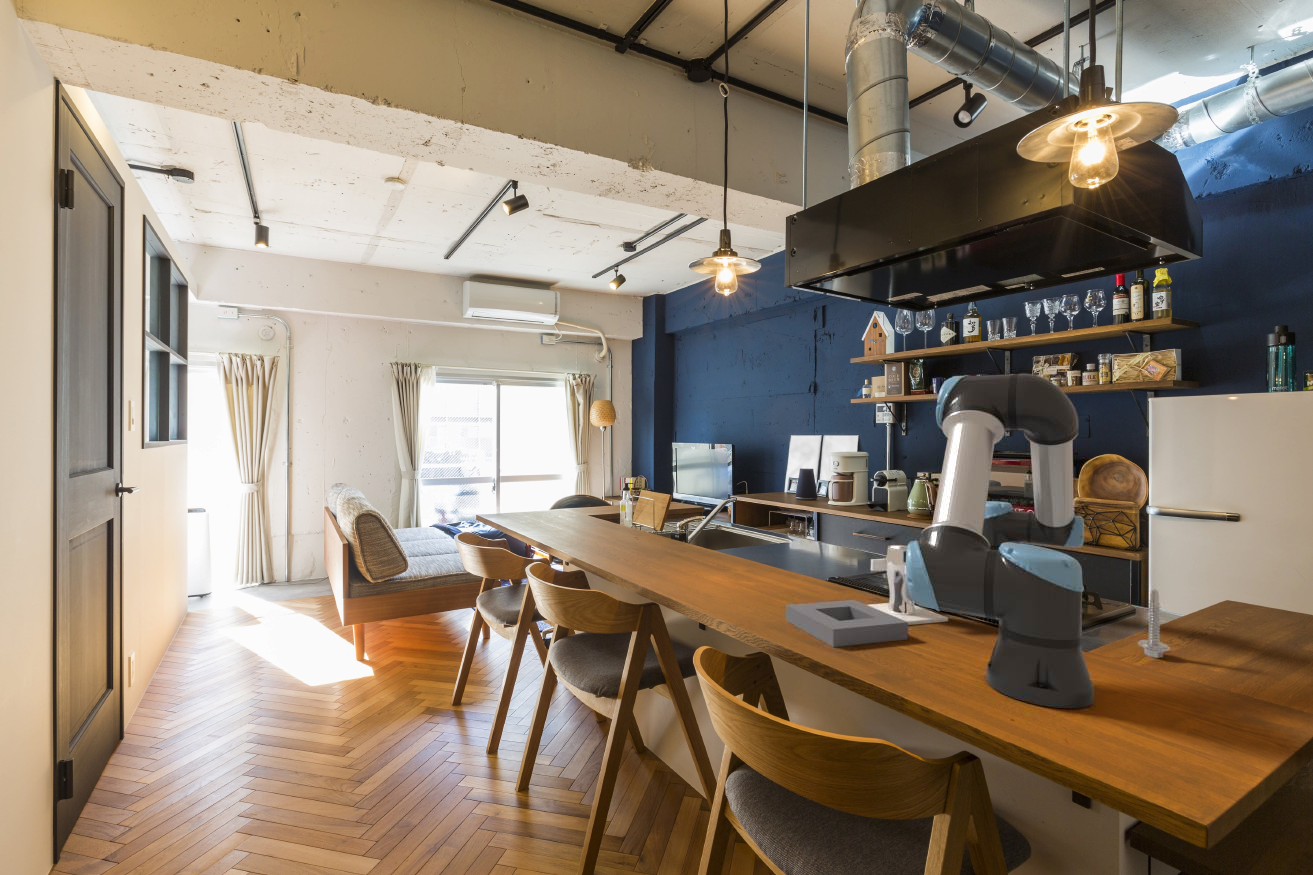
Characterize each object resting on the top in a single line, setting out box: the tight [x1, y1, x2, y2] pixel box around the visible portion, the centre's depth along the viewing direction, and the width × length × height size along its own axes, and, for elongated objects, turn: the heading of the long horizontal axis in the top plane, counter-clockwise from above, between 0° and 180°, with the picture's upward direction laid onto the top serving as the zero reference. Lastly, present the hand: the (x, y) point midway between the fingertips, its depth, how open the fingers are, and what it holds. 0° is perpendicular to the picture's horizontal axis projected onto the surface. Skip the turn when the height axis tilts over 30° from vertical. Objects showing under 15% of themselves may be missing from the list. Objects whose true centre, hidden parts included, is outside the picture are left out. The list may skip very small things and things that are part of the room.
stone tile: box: [867, 602, 949, 626], centre depth 144 cm, size 14×14×1 cm
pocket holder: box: [785, 599, 909, 648], centre depth 132 cm, size 18×18×4 cm
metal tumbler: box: [886, 544, 916, 615], centre depth 144 cm, size 7×7×15 cm
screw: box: [1137, 588, 1171, 659], centre depth 119 cm, size 13×5×5 cm
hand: (890, 571), depth 143 cm, fingers open, 13 cm apart
